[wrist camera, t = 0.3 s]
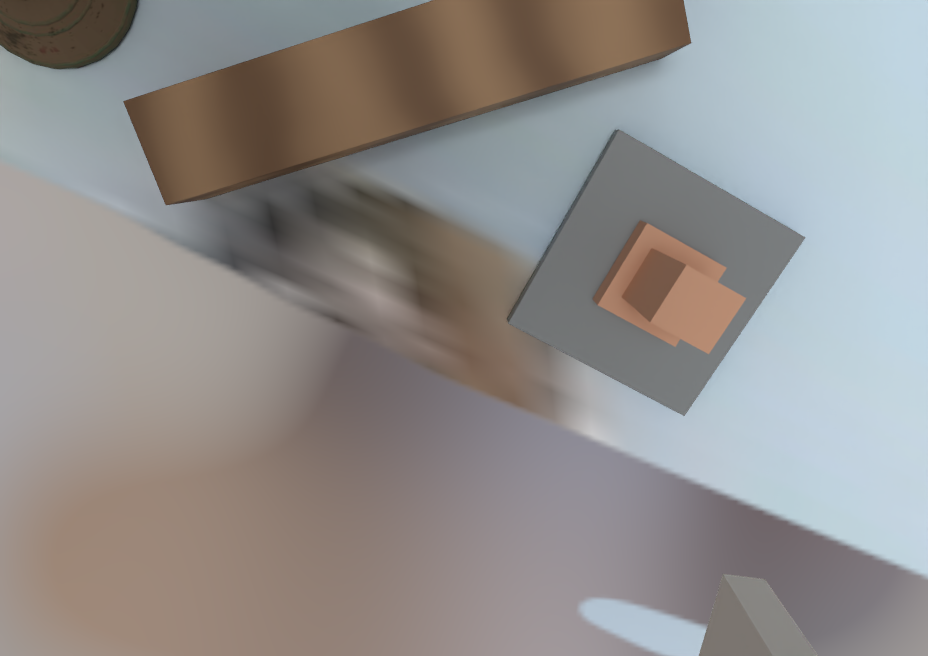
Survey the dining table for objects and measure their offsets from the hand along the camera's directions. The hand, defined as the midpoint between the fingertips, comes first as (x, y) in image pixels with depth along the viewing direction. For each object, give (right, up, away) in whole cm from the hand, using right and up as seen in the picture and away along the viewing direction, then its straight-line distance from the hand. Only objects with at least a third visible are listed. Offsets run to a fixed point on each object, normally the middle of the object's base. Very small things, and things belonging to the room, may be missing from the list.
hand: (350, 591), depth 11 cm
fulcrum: (+13, +8, +25) cm, 29 cm away
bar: (-1, +18, +23) cm, 29 cm away
